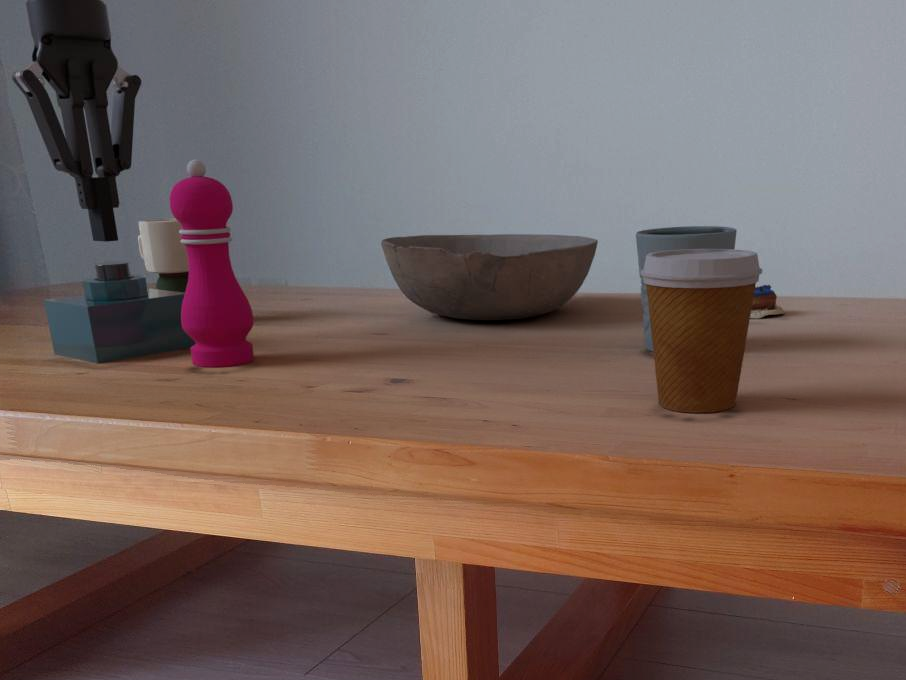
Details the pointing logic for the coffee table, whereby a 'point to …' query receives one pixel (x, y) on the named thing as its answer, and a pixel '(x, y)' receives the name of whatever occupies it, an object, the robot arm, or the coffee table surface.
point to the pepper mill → (210, 273)
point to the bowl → (489, 272)
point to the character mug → (164, 253)
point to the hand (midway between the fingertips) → (105, 240)
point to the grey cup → (677, 241)
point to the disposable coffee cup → (699, 324)
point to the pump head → (112, 271)
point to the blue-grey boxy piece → (117, 321)
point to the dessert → (764, 302)
